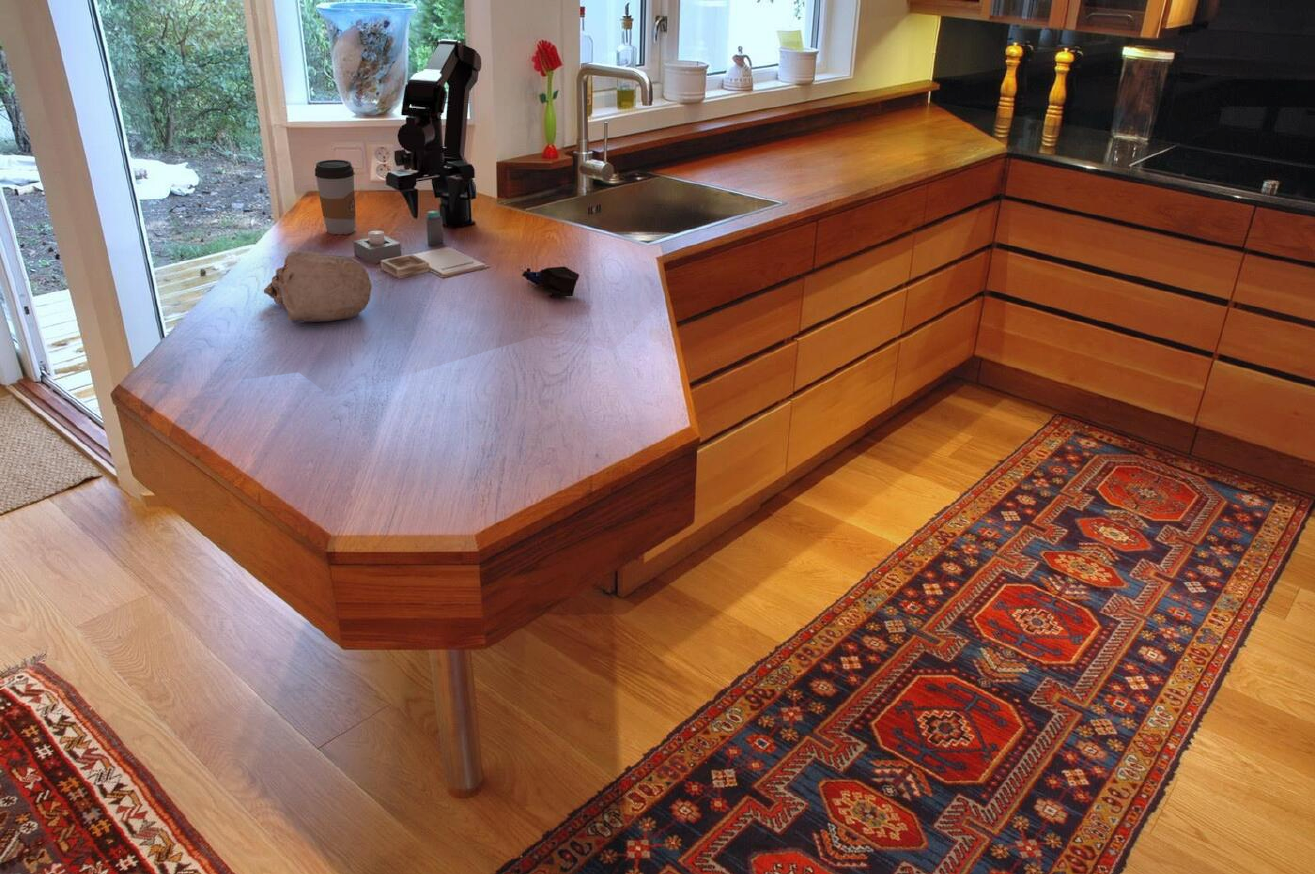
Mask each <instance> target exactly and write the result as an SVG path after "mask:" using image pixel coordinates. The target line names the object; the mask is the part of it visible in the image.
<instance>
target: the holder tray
mask: <svg viewBox="0 0 1315 874" xmlns="http://www.w3.org/2000/svg"><path fill="white" fill-rule="evenodd" d="M380 265H381V266H380V268H381V270H382V271H384V272H386V273H388V274H391V275H392V276H394V277H396V278H398V279H403V278H407V277H413V276H417V275H421V274H424V273H430V272H429V270H430V268H429V263H428V262H426V261H424V260H422V259H420V258H418V257H416V256H414V255H413V254H412V253H410V254H405V255H401V256H399V257H395V258H390V259H385V260H381V262H380Z"/></svg>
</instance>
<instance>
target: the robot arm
mask: <svg viewBox="0 0 1315 874" xmlns="http://www.w3.org/2000/svg"><path fill="white" fill-rule="evenodd" d="M481 70H482V58H481V55H480V54H479V52H477V50H476V49H474V48H472V47H471V46H468V45H465V43H463V41H459V40H458V39H445V38H442V39H439V40H437V42H436V49H435V50H434V52H433V54H432V56H431V57H430V59H429V61H428V62H427V64H426V66H425V68H424V69H423V70H421V71H419V72H415V73H414V74H413V75H412V76H411V77H410V78H409V79H408V81H407V82H406V84H405V86H404V91H403V99H402V103H401V104H402V106H401V112H400V115H401V116H406V117H405V123H404V124H402V125H401V126H400V127H399V129H398V132H397V141H398V143H399V145H400V147H401V148H402V149H399V150H395V151H393V153H394V162H395V163H394V164H395V165H396V167H403V169H398V170H397V169H396V170H391V171H387V173H386V176H385V185H386V186H389V187H391V188H392V189H394V190H396V191H398V192H400V194H401V195H402V196H403V198H404V200H405V203H406V204H407V207H408V208H409V211H410V214H411V215H412V217H413V218H414V219H415V220H416V219H418V216H419V189H418V188H415V187H416V186H417V182H424V181H430V180H431V185H432V191H433V196H434V198H435V199H440V200H439V201H440V204H439V205H438V209H439V211H438V212H440V216H442V225H444V226H446V227H449V228H451V229H456V228H460V227H467V226H473V225H475V224H476V223H477V222H476V221H475V220H473V218H472V200H475V199H477V185H476V183H475V181H474V179H475V178H476V169H475V167H474V166H473V165H472V164H471V163H470V162H468V161H467V159H466V158H465V151H466V135H467V127H468V126H467V124H468V113H469V101H470V91H471V90H472V89H473V87H475V85H476V84H477V83H478V78H479V72H481ZM446 84H447V86H448V92H447V90H446V87H445V85H446ZM446 103H447V104H446ZM445 109H446V114H445V115H446V116H445V117H446V118H445V125H444V126H445V128H444V140H443V126H442V125H443V123H442V115H443V114H444V112H445ZM409 170H412V171H415V172H411V171H409Z"/></svg>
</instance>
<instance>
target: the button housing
mask: <svg viewBox="0 0 1315 874" xmlns="http://www.w3.org/2000/svg"><path fill="white" fill-rule="evenodd" d="M384 238H385V244H383V245H378V246H371V245H369V237H367V238H362V239H361V238H360V239H357V240H353V250H354V255H355V256H357V257H358V258H360V259H362V260H363V261H366V262H367V263H370V264H371V263H373V264H377V263H381V260H385V259H390V258H395V257H399V256H402V245H401V243H400V242H398V241H396V240H394V239H392V238H390V237H389V236H386V235H384Z"/></svg>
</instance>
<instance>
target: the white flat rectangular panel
mask: <svg viewBox="0 0 1315 874" xmlns="http://www.w3.org/2000/svg"><path fill="white" fill-rule="evenodd" d="M412 255H414V256H416V257H418V258H420V259H422V260H424V261H426V262H428V263H429V268H430V270H429V272H428V273H431V274H433V275H436V276H437V277H439V278H441V279H447V278H451V277H455V276H459V275H463V274H468V273H472V272H476V271H479V270H483V269H488V268H490V265H488V264H485V263H483V262H481V261H480V260H477V259H475V258H472V257H471V256H469V255H466V254H464V253H462V252H459V251H458V250H455V249H453V248H451V247H449V246H446V247H440V248H437V249H431V250H427V251H423V252H418V253H413V254H412Z"/></svg>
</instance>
